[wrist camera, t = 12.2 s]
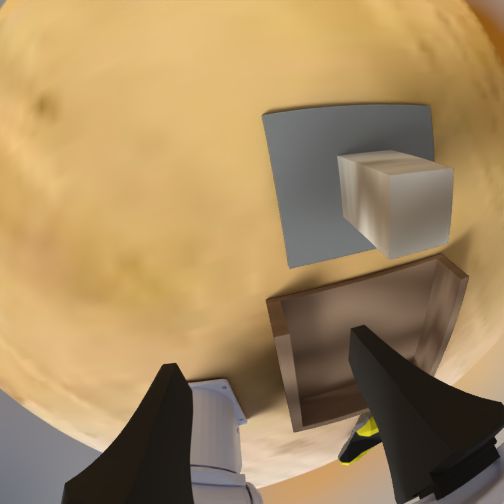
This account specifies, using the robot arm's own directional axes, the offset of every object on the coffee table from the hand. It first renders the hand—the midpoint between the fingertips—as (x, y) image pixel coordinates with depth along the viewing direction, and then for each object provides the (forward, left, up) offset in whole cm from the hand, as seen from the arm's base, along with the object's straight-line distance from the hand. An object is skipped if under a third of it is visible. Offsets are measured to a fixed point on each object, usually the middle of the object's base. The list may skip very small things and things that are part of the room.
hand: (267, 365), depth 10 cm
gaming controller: (-29, -12, -9) cm, 33 cm away
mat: (+4, -9, -9) cm, 13 cm away
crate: (-10, -9, -9) cm, 16 cm away
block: (+4, -9, -9) cm, 13 cm away
